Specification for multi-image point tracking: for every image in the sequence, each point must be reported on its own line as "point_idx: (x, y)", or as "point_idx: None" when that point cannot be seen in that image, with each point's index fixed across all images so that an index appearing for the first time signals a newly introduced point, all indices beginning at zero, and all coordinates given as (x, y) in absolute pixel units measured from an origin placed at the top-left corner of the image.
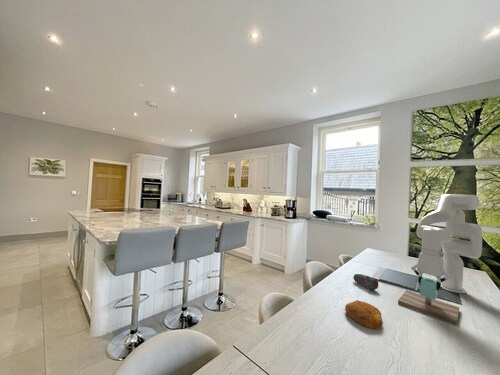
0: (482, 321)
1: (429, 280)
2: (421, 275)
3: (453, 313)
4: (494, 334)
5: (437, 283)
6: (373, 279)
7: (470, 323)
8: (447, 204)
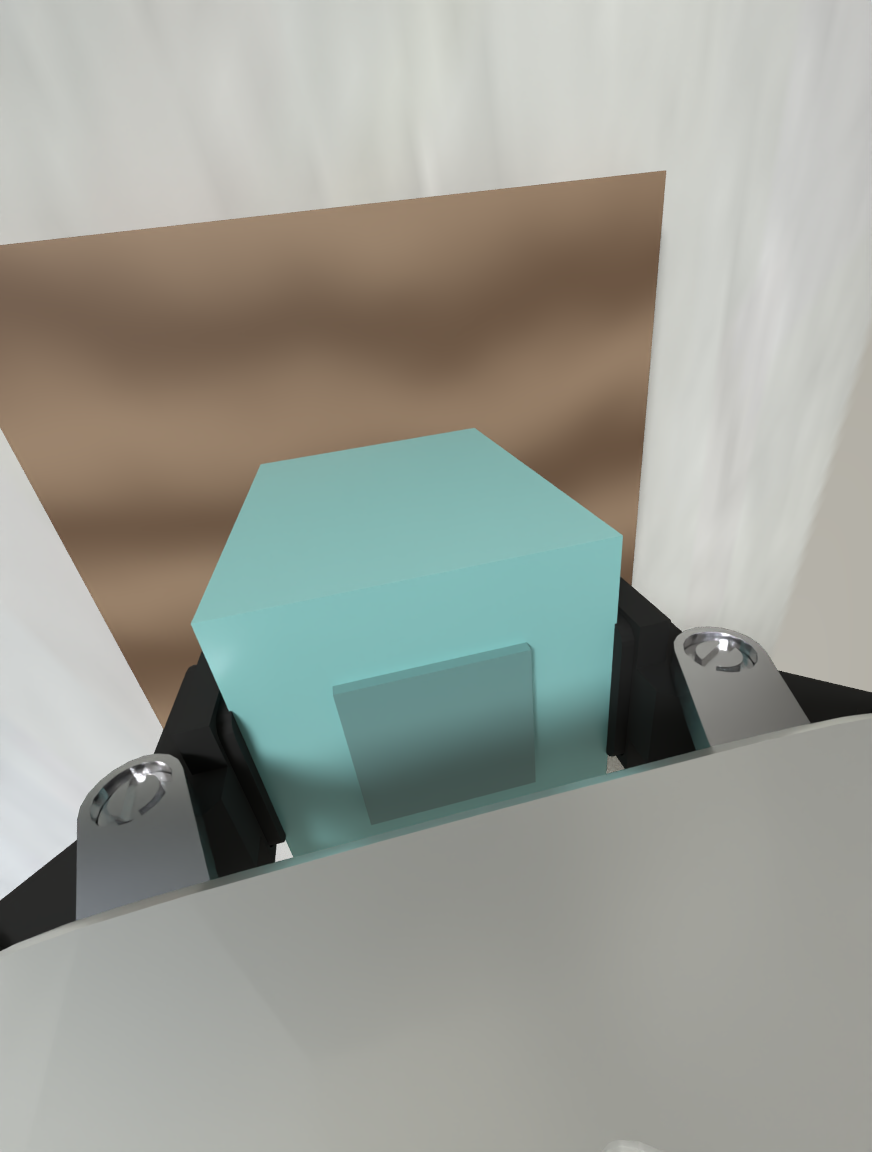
0: (809, 256)
1: (466, 796)
2: (213, 826)
3: (607, 495)
4: (821, 476)
5: (621, 751)
6: None
7: (700, 449)
8: None
